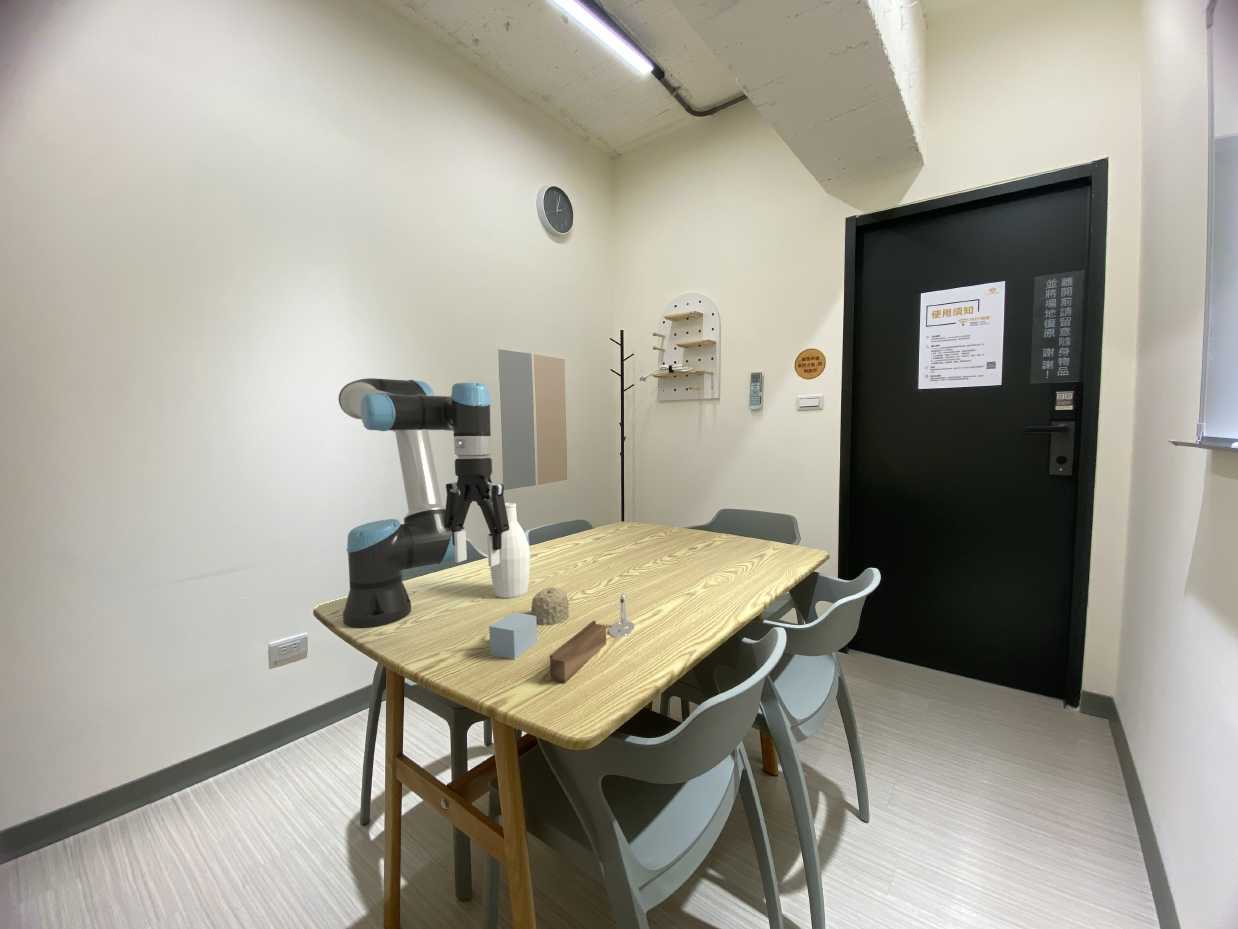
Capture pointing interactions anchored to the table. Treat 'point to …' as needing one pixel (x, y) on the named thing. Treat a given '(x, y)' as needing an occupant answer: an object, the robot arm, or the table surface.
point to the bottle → (512, 560)
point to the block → (513, 635)
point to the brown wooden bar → (577, 652)
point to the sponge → (550, 606)
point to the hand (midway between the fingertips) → (477, 562)
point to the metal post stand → (622, 621)
